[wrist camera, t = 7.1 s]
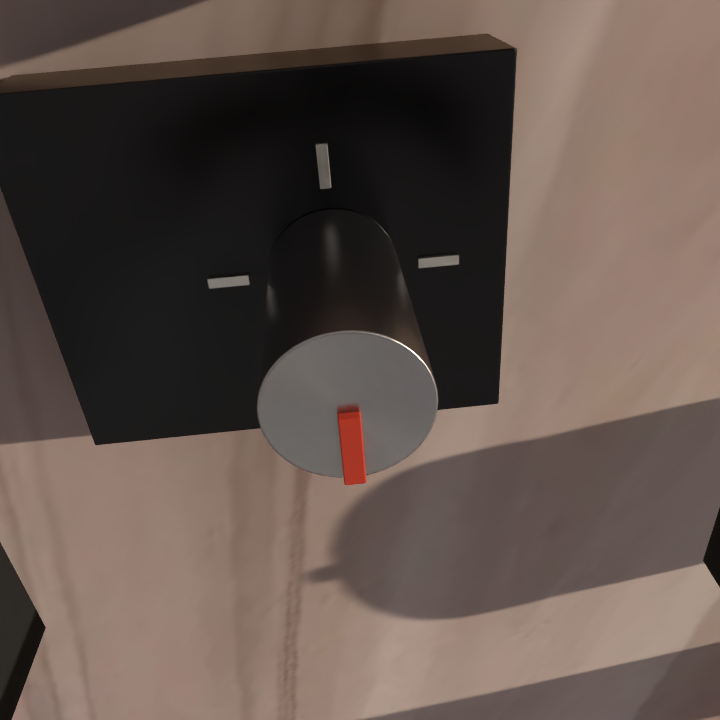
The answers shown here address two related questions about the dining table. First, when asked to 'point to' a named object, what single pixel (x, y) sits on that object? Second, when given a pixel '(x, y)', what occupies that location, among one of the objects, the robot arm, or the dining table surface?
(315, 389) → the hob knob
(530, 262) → the dining table surface
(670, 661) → the dining table surface
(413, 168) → the hob
